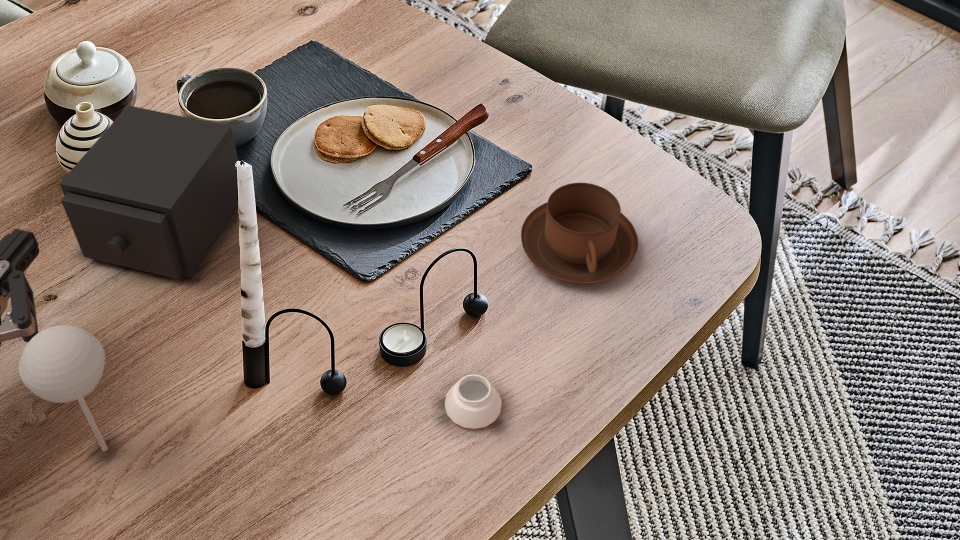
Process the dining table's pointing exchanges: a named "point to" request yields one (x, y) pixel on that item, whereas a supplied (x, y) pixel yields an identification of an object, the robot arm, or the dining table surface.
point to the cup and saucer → (580, 235)
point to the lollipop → (64, 367)
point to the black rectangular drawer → (123, 234)
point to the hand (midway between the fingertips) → (28, 237)
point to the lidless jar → (473, 402)
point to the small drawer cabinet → (165, 175)
